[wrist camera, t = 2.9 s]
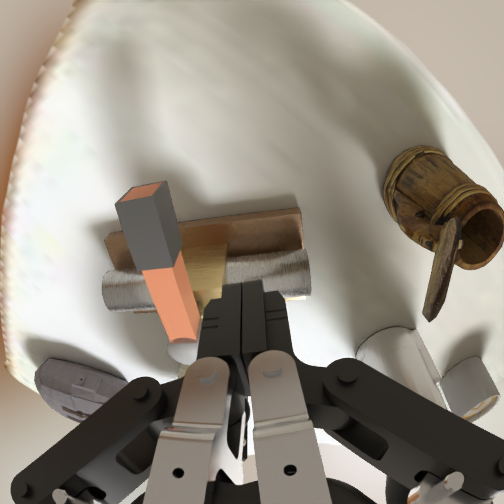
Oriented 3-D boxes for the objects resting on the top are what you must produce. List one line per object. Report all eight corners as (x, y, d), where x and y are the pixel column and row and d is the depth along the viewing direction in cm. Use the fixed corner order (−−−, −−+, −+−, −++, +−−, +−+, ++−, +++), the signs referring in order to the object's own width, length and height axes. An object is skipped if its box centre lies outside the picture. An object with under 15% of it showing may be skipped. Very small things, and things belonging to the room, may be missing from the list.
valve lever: (216, 340, 24) (213, 366, 22) (179, 342, 25) (174, 367, 22) (173, 179, 18) (160, 195, 15) (126, 188, 18) (108, 205, 15)
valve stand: (299, 207, 29) (318, 261, 21) (303, 290, 34) (317, 355, 26) (109, 233, 30) (68, 286, 22) (137, 305, 35) (113, 365, 27)
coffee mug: (454, 360, 43) (475, 402, 34) (488, 352, 43) (509, 389, 35) (425, 401, 50) (439, 439, 41) (458, 392, 50) (473, 427, 41)
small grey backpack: (132, 370, 43) (32, 342, 41) (118, 413, 35) (12, 376, 34) (142, 414, 50) (55, 389, 48) (133, 449, 43) (42, 419, 41)
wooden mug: (343, 136, 25) (463, 217, 10) (458, 150, 25) (586, 227, 10) (336, 224, 30) (406, 366, 14) (444, 225, 30) (539, 331, 14)
